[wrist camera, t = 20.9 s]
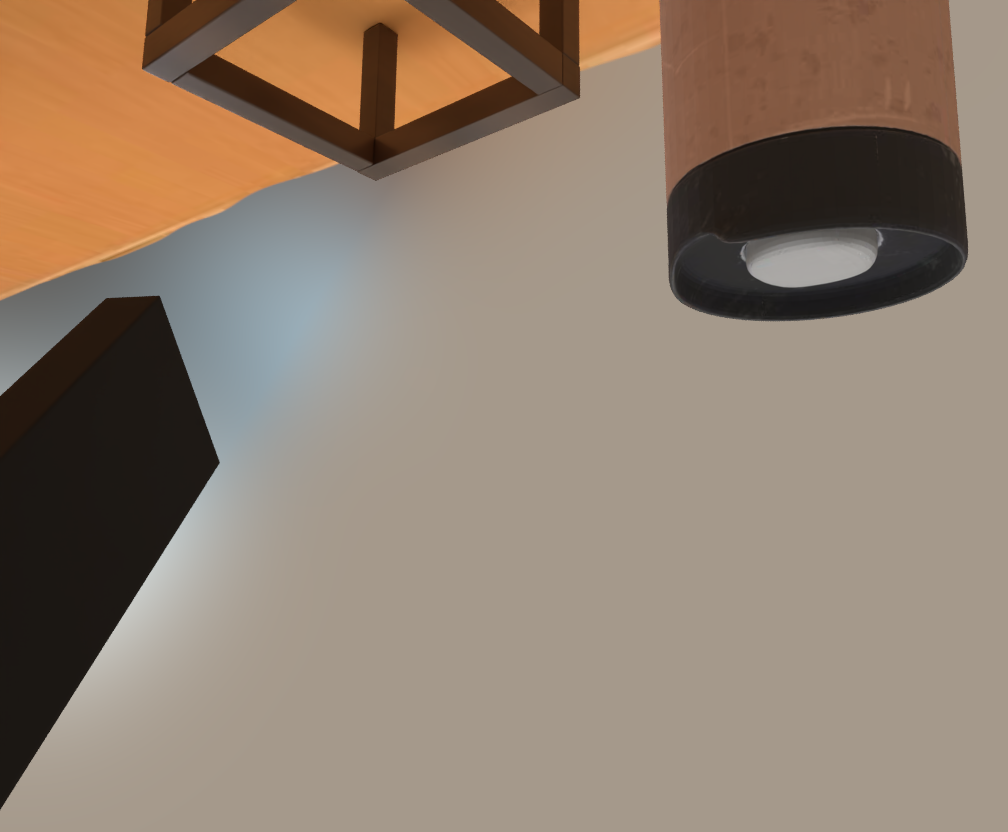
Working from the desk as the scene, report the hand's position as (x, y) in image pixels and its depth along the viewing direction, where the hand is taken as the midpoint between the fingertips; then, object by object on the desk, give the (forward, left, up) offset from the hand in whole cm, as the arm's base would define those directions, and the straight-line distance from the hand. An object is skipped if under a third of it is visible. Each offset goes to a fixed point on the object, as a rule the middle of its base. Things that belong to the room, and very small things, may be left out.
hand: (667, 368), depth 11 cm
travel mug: (-3, -13, -25) cm, 29 cm away
